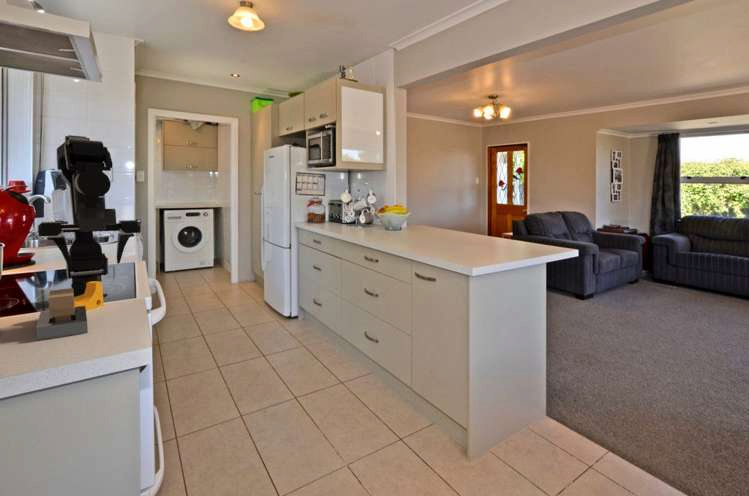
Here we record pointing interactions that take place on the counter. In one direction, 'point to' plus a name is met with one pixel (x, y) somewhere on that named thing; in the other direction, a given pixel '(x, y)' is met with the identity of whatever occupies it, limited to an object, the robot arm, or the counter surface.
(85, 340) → the counter surface
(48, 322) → the rail plate
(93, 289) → the pipe clamp
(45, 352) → the counter surface
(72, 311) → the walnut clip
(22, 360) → the counter surface
